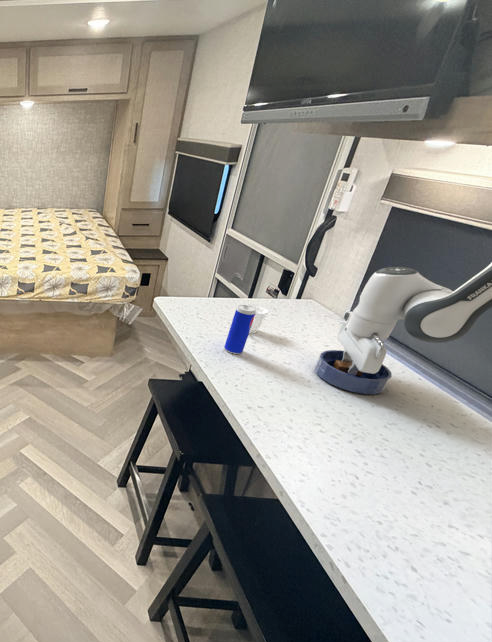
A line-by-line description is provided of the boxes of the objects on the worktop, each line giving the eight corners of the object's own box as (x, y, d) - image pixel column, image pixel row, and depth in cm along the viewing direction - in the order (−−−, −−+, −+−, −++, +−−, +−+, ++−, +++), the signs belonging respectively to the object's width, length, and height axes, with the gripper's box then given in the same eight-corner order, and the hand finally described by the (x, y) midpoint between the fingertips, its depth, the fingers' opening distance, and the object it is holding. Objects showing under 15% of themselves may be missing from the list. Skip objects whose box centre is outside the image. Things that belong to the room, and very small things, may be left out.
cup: (261, 329, 138) (269, 308, 134) (258, 340, 131) (266, 319, 127) (239, 323, 142) (245, 303, 138) (234, 334, 135) (241, 313, 131)
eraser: (355, 372, 113) (359, 364, 112) (359, 379, 110) (364, 370, 109) (331, 368, 115) (335, 359, 114) (335, 374, 112) (339, 366, 111)
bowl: (371, 371, 115) (379, 356, 112) (392, 401, 103) (402, 386, 100) (308, 360, 120) (314, 346, 118) (321, 387, 108) (328, 372, 106)
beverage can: (243, 356, 123) (258, 312, 116) (225, 353, 124) (238, 310, 117) (240, 347, 127) (254, 305, 120) (222, 345, 129) (235, 303, 122)
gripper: (401, 346, 96) (376, 392, 103) (370, 312, 112) (349, 354, 119) (369, 341, 98) (345, 386, 105) (342, 309, 115) (324, 349, 121)
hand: (347, 369), depth 112 cm, fingers closed on eraser, 3 cm apart
